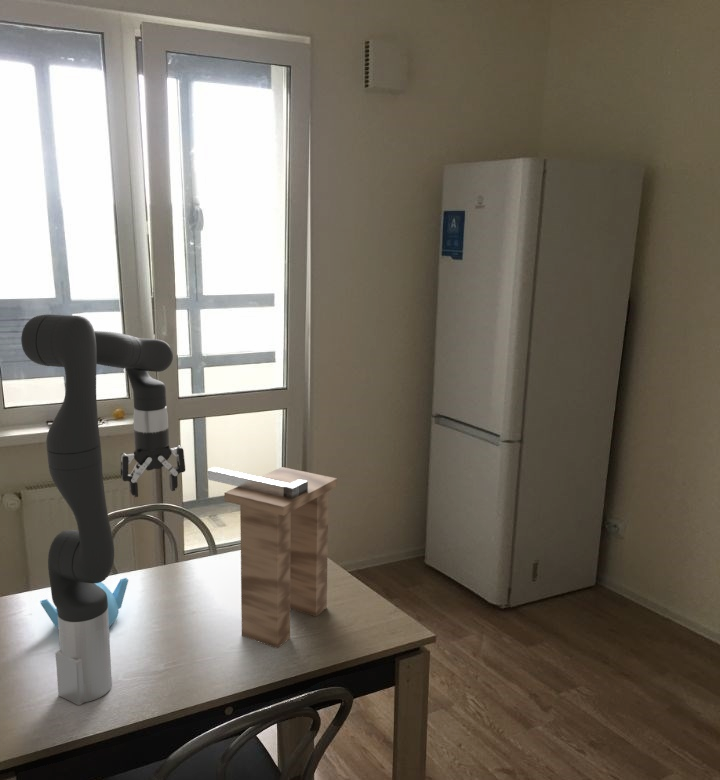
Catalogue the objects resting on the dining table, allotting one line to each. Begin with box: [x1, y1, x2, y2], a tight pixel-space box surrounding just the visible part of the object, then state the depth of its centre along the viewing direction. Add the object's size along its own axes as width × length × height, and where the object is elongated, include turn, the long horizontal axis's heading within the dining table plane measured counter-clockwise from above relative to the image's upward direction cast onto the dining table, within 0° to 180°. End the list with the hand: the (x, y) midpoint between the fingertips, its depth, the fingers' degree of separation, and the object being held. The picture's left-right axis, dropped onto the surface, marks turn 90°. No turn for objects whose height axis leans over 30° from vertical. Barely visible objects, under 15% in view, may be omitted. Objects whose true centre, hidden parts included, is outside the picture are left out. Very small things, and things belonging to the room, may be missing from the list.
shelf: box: [224, 466, 338, 649], centre depth 166 cm, size 22×16×34 cm
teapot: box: [39, 577, 129, 629], centre depth 165 cm, size 15×15×11 cm
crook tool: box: [206, 466, 308, 499], centre depth 162 cm, size 6×24×2 cm, turn 61°
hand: (154, 493), depth 164 cm, fingers open, 8 cm apart
